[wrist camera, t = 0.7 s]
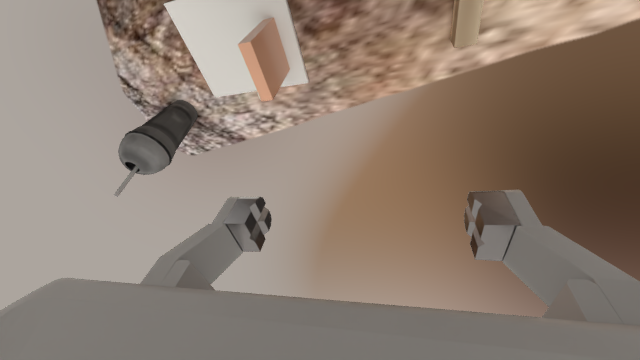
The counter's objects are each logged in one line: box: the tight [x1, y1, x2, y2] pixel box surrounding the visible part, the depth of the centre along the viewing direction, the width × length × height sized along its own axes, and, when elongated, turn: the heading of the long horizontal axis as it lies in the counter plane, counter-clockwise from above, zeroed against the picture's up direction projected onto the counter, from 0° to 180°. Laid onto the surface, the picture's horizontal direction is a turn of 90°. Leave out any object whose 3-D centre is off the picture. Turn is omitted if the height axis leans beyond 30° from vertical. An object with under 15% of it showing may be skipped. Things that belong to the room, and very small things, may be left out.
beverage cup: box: [114, 100, 197, 196], centre depth 43 cm, size 7×7×20 cm
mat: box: [164, 0, 309, 97], centre depth 38 cm, size 14×17×1 cm
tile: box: [238, 17, 290, 101], centre depth 34 cm, size 7×2×9 cm, turn 13°
